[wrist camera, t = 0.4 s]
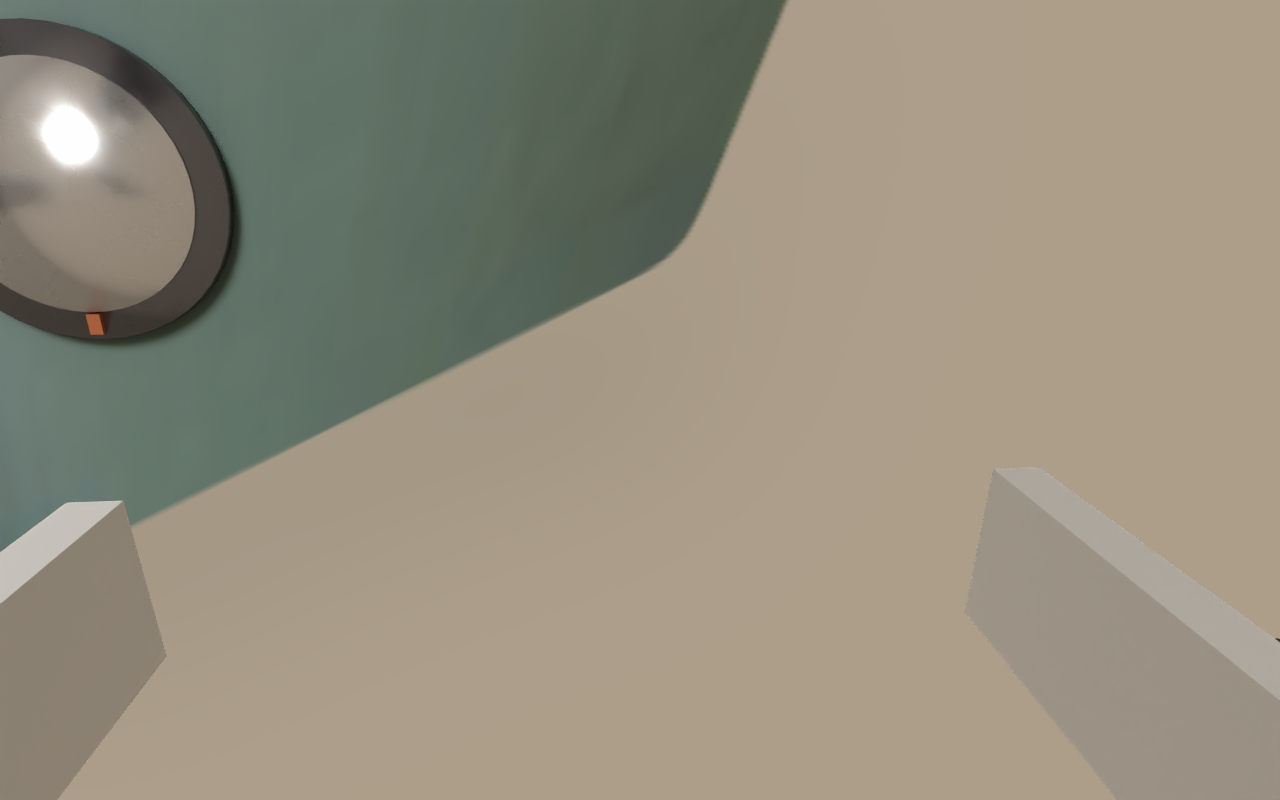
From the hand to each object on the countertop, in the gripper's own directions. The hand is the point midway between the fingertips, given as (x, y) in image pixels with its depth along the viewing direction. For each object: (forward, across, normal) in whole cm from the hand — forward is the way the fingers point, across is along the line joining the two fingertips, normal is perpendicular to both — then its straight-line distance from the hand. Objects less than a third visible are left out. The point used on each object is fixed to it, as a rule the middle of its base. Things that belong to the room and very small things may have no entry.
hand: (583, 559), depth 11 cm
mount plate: (+27, -23, +3) cm, 36 cm away
